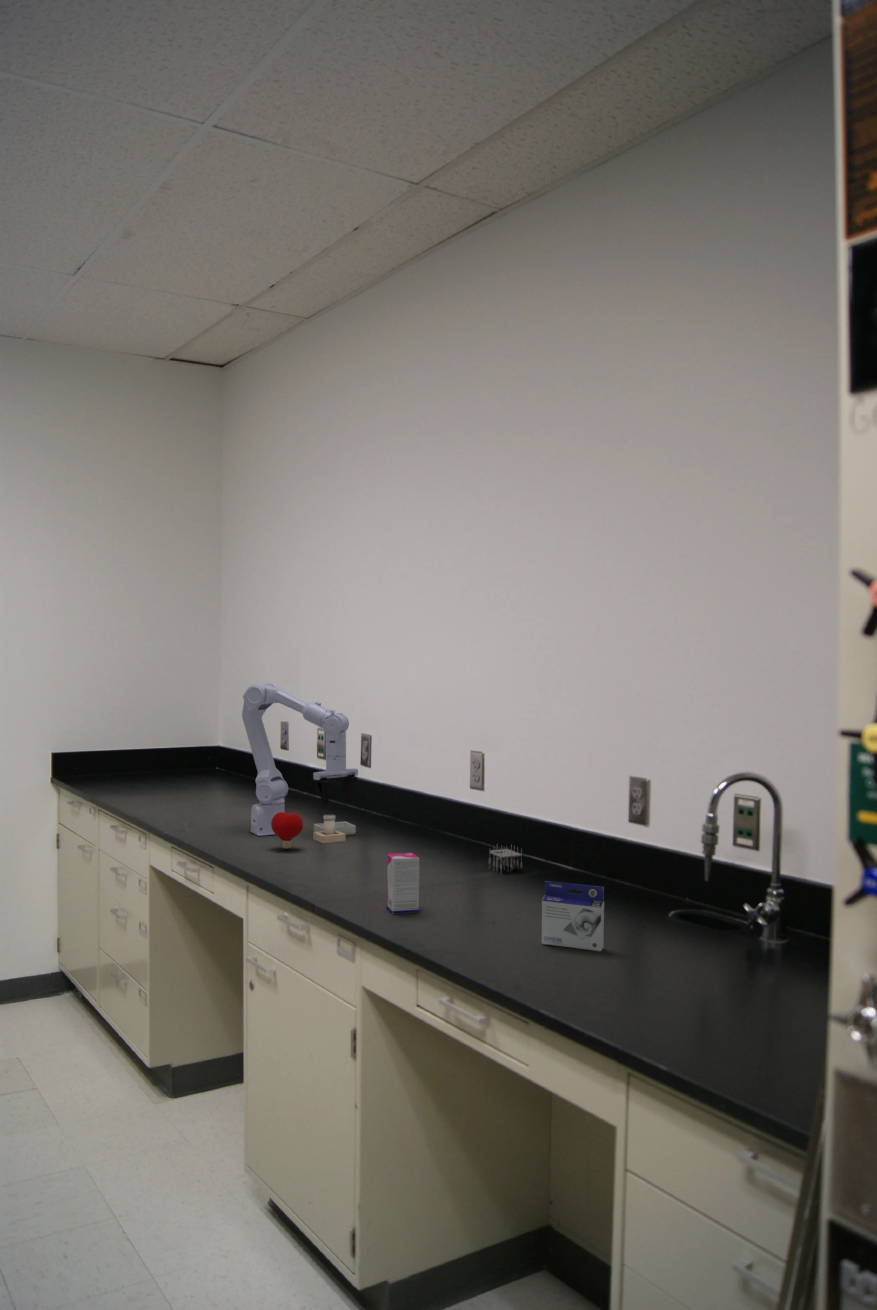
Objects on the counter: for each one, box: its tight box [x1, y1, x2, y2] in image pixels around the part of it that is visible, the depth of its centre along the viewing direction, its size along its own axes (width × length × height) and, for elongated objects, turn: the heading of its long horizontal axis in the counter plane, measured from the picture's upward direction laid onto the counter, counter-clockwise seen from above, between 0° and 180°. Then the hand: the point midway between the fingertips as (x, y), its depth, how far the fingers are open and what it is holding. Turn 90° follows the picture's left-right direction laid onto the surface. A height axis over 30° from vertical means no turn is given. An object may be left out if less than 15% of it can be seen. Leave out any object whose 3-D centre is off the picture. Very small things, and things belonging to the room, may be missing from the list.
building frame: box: [488, 843, 523, 875], centre depth 241 cm, size 6×8×6 cm
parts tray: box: [313, 821, 357, 836], centre depth 286 cm, size 10×8×2 cm
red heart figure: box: [271, 811, 304, 851], centre depth 263 cm, size 9×7×10 cm
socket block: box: [312, 830, 346, 844], centre depth 277 cm, size 7×7×2 cm
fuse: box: [322, 814, 336, 835], centre depth 277 cm, size 3×3×7 cm
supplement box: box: [386, 852, 420, 915], centre depth 204 cm, size 6×6×12 cm
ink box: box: [541, 880, 605, 952], centre depth 179 cm, size 12×2×12 cm, turn 69°
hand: (336, 802), depth 281 cm, fingers open, 7 cm apart
